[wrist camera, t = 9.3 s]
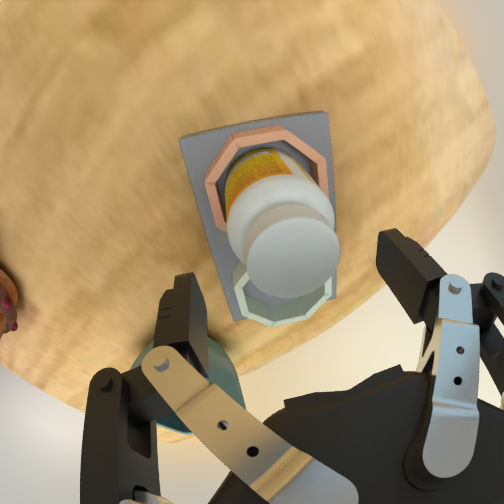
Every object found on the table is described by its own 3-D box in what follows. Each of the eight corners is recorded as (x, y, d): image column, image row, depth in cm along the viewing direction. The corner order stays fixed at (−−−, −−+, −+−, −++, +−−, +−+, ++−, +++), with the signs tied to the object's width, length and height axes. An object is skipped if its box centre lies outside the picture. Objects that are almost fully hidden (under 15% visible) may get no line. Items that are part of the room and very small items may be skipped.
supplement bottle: (312, 160, 19) (379, 225, 11) (282, 224, 22) (321, 317, 14) (238, 133, 17) (258, 182, 10) (213, 205, 20) (213, 298, 12)
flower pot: (128, 338, 29) (115, 409, 21) (177, 298, 26) (169, 380, 19) (188, 371, 33) (188, 436, 25) (240, 339, 30) (249, 413, 23)
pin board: (233, 312, 28) (235, 337, 25) (181, 137, 18) (174, 146, 16) (332, 290, 28) (343, 312, 25) (321, 110, 18) (339, 116, 16)
